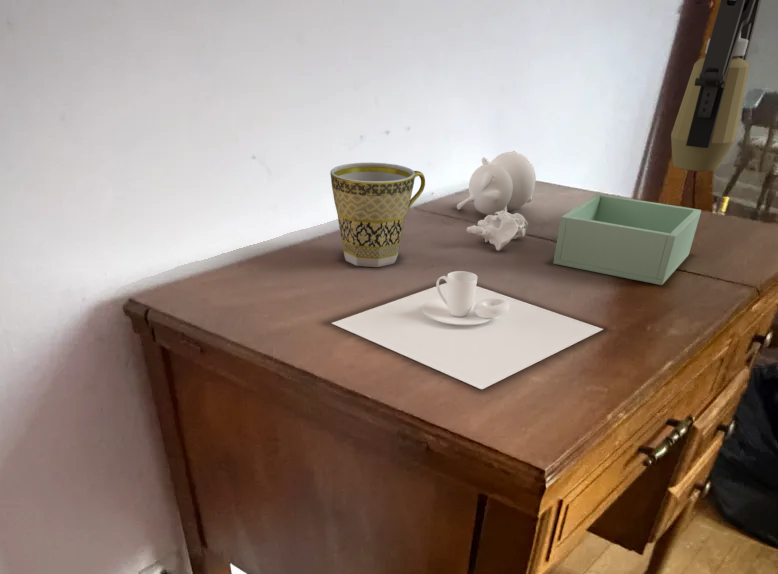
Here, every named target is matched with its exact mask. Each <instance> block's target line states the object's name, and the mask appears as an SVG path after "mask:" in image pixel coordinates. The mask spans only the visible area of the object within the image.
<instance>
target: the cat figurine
mask: <svg viewBox="0 0 778 574" xmlns="http://www.w3.org/2000/svg"><path fill="white" fill-rule="evenodd" d="M481 163H482V165H480V166H479V167H477V168H476V169H475V170H474V171H473V173H472V174H471V176H470V179H469V182H468V194H469V197H467V198H466V199H464V200H462V201H460V202H459V203H457V204H456V208H457V210H458V211H459V210H461V209H463V208H464V207H466V206H467V205H468V204H470V203H472V205H473V207H474V208H475V209H476V210H477V211H478V212H479V213H480V214H483V215H485V216H488V215H493V216H494V215H495V213H496V212H500V211H501V210H503V211H506V212H510V211H516V210H518V209H520V208H522V207H523V206H524V205H526V204H528V203H531V202H532V201H533V198H532V197H533V194H534V191H535V187H536V182H537V181H536V180H537V179H536V177H537V176H536V171H535V168H534V165H533V164H532V162H531V161H530V160H529V158H527V157H526V156H525V155H523V154H522V153H519V152H516V151H515V150H513V151H507V152H502V153H501V154H498V155H497V156H495V158H493V159H492V161H490V160H489V159H488V158H487V157H485V156H483V157H482V158H481Z"/></svg>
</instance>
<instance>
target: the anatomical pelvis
mask: <svg viewBox="0 0 778 574" xmlns="http://www.w3.org/2000/svg"><path fill="white" fill-rule="evenodd" d="M528 226H529V223H528V221H527V219H526V218H525V217H524V216H523V215H522V214H521V213H519V212H516V213H511V212H510V211H507V212H506V211H503V210H501V211H500V212H496V213H495V214H494V215H485V217H484V219H480V220H478V221H477V225H474V224H473V225H471V226H468V227H466V233H467V234H473V235H476V236H479V237H483V239H484V242H485V243H488V242H489V244H491V245H494V246H495V250H496V251H497V252H499V251H501V250H502V249H503V248H504V247H505V246H506V245H507V244H508V243H509V242H511V240H516V239H517V238H519V237H522V238H523V237H525V236H526V230H527V228H528Z"/></svg>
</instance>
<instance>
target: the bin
mask: <svg viewBox="0 0 778 574" xmlns="http://www.w3.org/2000/svg"><path fill="white" fill-rule="evenodd" d="M701 213H702V209H697V208H692V207H686V206H678V205H673V204H666V203H660V202H654V201H646V200H640V199H633V198H628V197H627V198H626V197H621V196H615V195H609V194H603V193H602V194H601V193H596V194H594V195H593V196H591V197H589V198H588V199H587V200H585V201H583V202H581V203H580V204H579V205H577V206H575V207H574V208H572V209H571V210H570V211H568V212H566V213H565V214H563V215H561V217H560V221H559V227H558V233H557V239H556V245H555V250H554V257H553V262H552V263H553V264H554V265H558V266H563V267H568V268H574V269H579V270H583V271H588V272H593V273H599V274H603V275H609V276H612V277H613V276H614V277H618V278H623V279H624V278H625V279H628V280H634V281H638V282H643V283H648V284H652V285H659V286H663V285H664V284H665V283H666V281H667V280H668V279H669V278H670V277H671V276H672V275H673V273H674V272H676V270H677V269H678V268H679V267H680V266H681V265H682V264H683V262H684V261H685V260H686V259H687V258H688V257H689V255H690V253H691V252H690V251H691V248H692V246H693V241H694V238H695V236H696V235H695V234H696V231H697V228H698V224H699V220H700V217H701Z"/></svg>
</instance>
